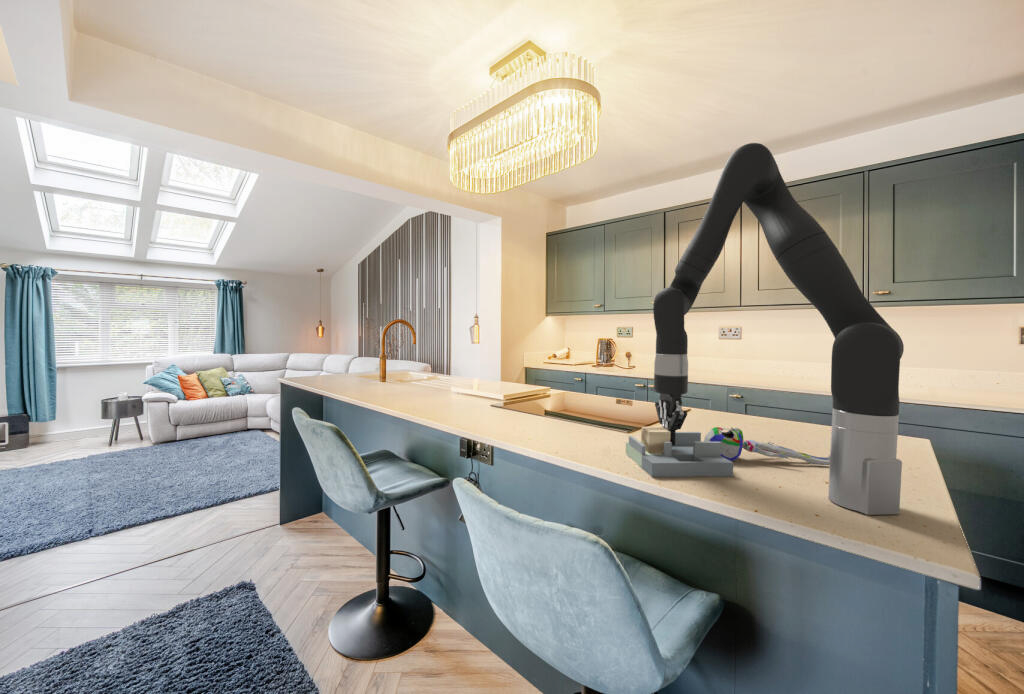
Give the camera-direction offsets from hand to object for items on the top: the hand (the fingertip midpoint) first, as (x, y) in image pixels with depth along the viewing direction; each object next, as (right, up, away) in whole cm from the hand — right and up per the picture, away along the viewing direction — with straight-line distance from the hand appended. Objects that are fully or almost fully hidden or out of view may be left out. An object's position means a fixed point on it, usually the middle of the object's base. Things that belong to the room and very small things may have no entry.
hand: (669, 444), depth 100 cm
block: (-4, -1, -1) cm, 4 cm away
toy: (+25, -5, +2) cm, 26 cm away
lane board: (+1, -4, -1) cm, 4 cm away
